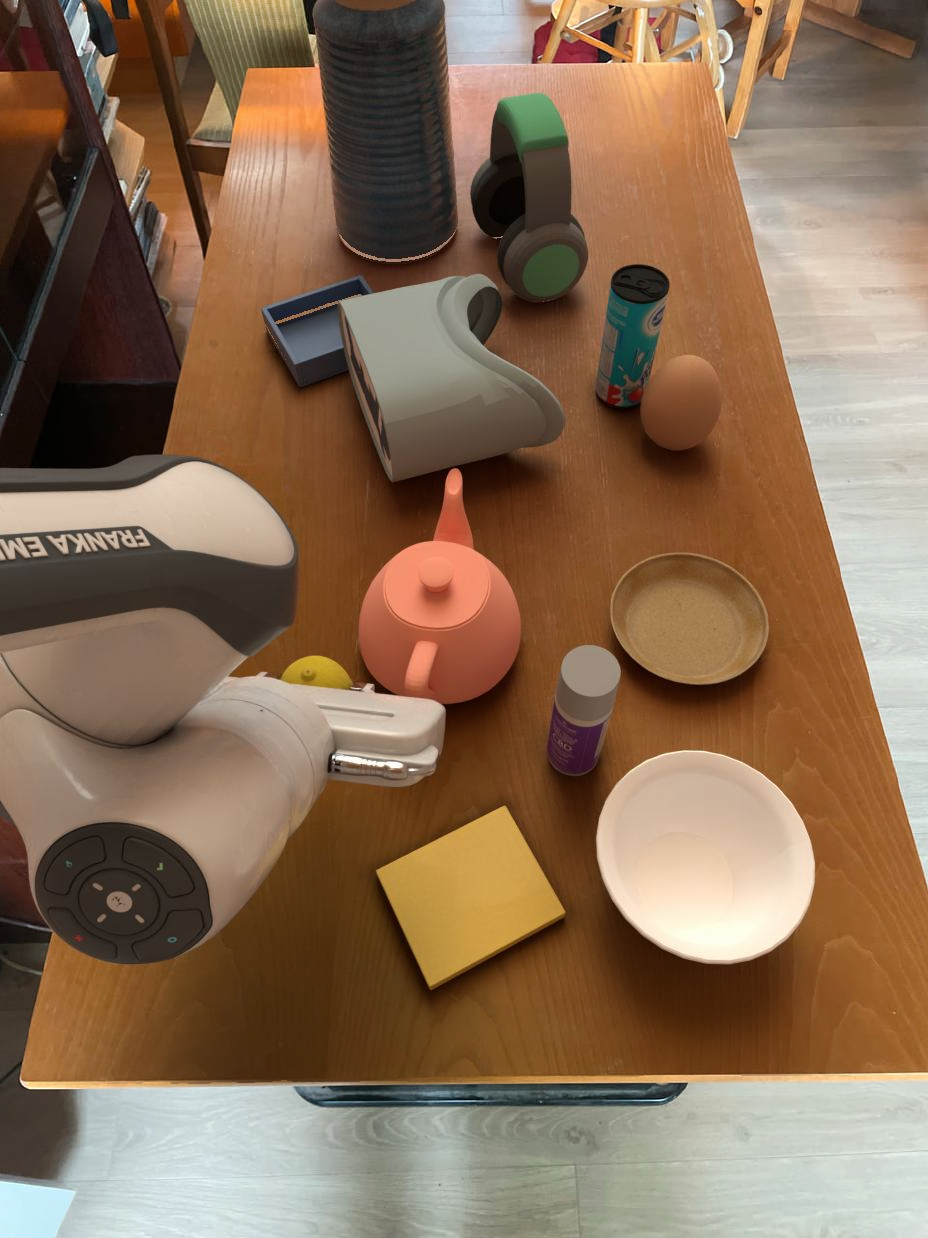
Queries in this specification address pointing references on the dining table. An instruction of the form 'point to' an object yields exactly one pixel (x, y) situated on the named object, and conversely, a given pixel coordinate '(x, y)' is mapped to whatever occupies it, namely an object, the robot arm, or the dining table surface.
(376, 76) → the vase
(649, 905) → the bowl
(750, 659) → the plant saucer
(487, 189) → the headphones
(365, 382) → the virtual reality goggles
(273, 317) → the blue tray
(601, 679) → the container
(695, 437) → the egg
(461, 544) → the teapot
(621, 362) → the beverage can
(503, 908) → the yellow board
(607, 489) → the dining table surface
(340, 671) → the lemon
